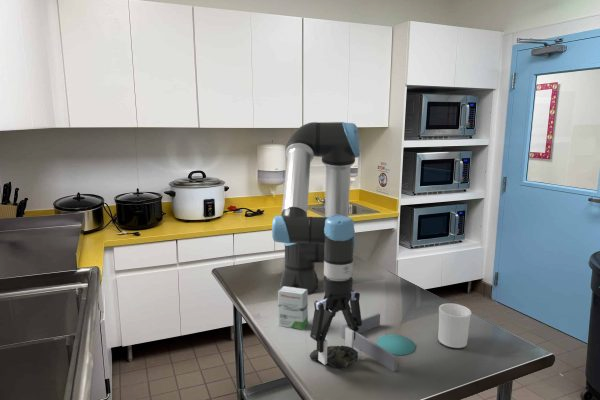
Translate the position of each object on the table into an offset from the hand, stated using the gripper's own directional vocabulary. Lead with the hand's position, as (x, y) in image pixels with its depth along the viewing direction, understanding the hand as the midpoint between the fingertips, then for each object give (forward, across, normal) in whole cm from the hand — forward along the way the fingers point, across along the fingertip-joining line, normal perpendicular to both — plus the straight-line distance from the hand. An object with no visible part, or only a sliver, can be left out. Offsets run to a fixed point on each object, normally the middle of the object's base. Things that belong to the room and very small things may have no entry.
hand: (336, 356), depth 112 cm
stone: (+2, 0, +1) cm, 2 cm away
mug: (+2, +36, -10) cm, 38 cm away
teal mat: (+2, +20, -2) cm, 21 cm away
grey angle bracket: (+2, +18, -1) cm, 18 cm away
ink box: (+2, +2, +24) cm, 25 cm away
